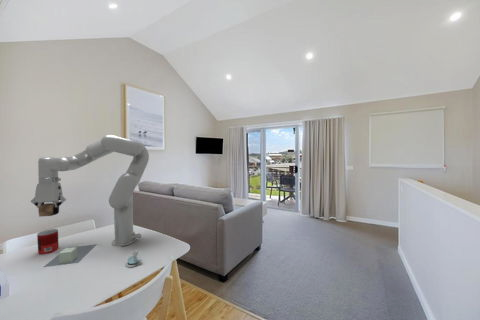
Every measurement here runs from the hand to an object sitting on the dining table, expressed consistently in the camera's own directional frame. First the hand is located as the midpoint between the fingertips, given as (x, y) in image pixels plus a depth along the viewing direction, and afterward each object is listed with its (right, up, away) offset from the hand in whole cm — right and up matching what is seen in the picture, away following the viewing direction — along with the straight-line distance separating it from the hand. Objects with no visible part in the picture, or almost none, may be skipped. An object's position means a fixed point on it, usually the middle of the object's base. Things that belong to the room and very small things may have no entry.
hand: (49, 214), depth 106 cm
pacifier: (+51, -20, -12) cm, 57 cm away
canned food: (-1, -20, +1) cm, 20 cm away
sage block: (+18, -20, -9) cm, 28 cm away
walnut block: (0, 0, 0) cm, 0 cm away
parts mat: (+16, -20, -3) cm, 26 cm away
